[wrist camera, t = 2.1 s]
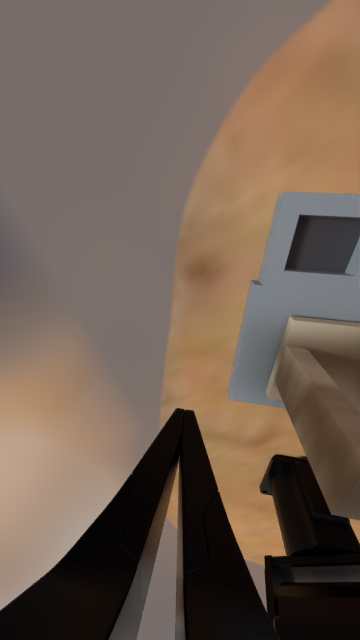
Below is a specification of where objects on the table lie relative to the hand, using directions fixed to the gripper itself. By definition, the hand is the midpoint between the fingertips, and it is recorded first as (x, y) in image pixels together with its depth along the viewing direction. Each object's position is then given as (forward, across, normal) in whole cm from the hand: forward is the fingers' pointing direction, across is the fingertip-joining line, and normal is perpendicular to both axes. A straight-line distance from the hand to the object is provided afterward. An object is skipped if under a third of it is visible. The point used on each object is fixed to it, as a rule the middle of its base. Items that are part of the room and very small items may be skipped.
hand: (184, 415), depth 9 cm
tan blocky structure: (+6, -12, 0) cm, 14 cm away
